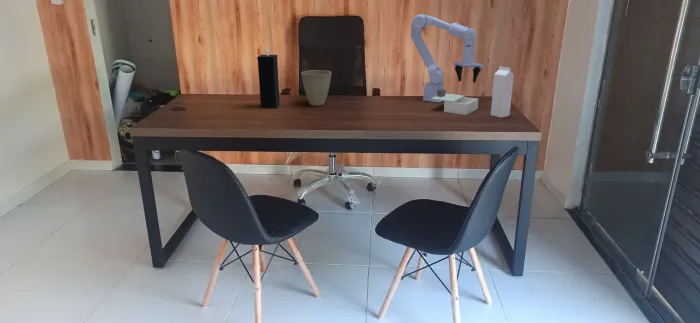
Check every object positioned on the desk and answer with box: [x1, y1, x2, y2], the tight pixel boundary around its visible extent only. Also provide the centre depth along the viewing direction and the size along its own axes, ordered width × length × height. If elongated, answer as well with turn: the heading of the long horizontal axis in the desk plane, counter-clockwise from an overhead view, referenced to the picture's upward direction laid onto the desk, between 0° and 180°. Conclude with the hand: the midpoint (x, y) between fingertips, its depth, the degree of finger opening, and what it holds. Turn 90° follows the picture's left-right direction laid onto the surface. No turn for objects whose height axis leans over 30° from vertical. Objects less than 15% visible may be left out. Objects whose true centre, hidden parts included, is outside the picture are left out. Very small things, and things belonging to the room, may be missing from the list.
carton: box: [443, 97, 479, 116], centre depth 232 cm, size 11×14×5 cm
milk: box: [490, 65, 514, 119], centre depth 220 cm, size 6×6×22 cm
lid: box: [431, 88, 466, 102], centre depth 235 cm, size 11×14×4 cm
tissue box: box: [256, 48, 281, 109], centre depth 239 cm, size 8×8×28 cm
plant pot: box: [301, 69, 332, 106], centre depth 245 cm, size 15×15×16 cm
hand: (467, 81), depth 247 cm, fingers open, 7 cm apart
